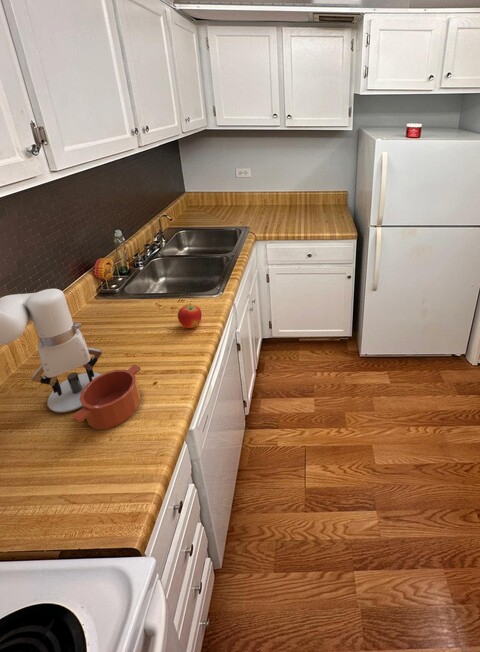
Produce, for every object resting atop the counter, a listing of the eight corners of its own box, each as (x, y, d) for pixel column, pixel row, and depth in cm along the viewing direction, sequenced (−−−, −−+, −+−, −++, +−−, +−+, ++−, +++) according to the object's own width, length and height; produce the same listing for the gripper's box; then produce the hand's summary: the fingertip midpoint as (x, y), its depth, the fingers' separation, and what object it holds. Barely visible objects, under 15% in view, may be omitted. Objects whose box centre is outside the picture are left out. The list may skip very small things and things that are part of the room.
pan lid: (36, 405, 91) (29, 387, 88) (84, 369, 103) (78, 353, 100) (71, 420, 86) (64, 402, 84) (116, 382, 98) (111, 364, 96)
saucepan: (65, 429, 84) (57, 407, 82) (125, 377, 100) (120, 358, 97) (101, 445, 80) (94, 424, 78) (158, 389, 96) (153, 369, 93)
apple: (184, 319, 126) (180, 297, 123) (205, 319, 127) (202, 296, 123) (176, 333, 119) (172, 310, 115) (199, 332, 119) (195, 309, 116)
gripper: (94, 314, 95) (108, 363, 101) (14, 341, 84) (36, 393, 91) (98, 327, 89) (113, 378, 96) (14, 357, 79) (37, 411, 86)
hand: (75, 385), depth 93 cm, fingers open, 6 cm apart
